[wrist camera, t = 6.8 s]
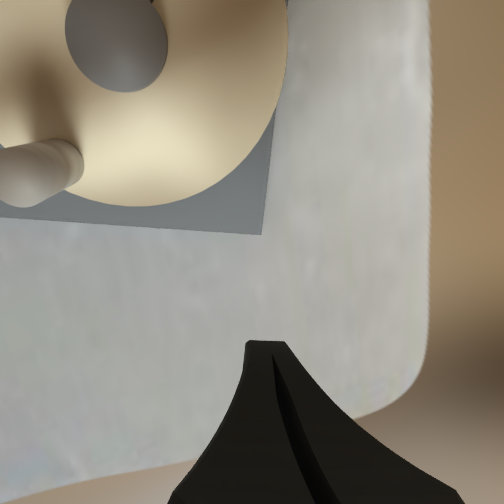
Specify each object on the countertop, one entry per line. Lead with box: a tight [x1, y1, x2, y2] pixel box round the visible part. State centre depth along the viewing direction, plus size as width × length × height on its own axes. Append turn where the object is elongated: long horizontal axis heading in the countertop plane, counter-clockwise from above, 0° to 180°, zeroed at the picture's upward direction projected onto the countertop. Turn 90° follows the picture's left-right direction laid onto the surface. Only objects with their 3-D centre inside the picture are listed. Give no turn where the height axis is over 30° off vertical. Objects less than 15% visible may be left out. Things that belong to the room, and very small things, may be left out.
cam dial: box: [0, 0, 288, 207], centre depth 13 cm, size 13×13×5 cm
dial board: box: [0, 0, 288, 235], centre depth 16 cm, size 14×16×3 cm
